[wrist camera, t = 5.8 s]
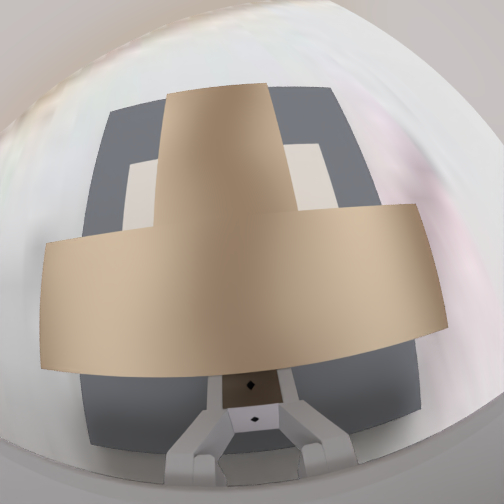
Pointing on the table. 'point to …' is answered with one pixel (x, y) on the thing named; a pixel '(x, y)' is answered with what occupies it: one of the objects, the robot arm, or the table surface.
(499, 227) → the table surface
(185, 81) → the table surface
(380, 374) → the slate mat
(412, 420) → the table surface
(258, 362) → the maple T-block
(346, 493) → the robot arm
